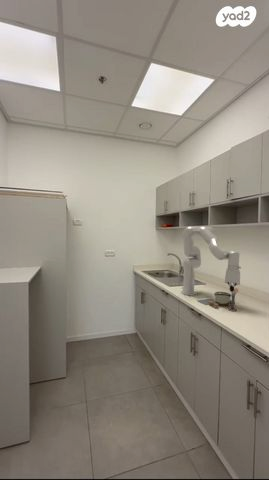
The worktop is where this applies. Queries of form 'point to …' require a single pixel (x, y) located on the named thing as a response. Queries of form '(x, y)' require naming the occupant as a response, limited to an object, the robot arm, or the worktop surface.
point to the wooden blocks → (225, 306)
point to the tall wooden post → (234, 292)
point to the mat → (206, 301)
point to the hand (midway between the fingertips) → (231, 291)
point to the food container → (222, 298)
